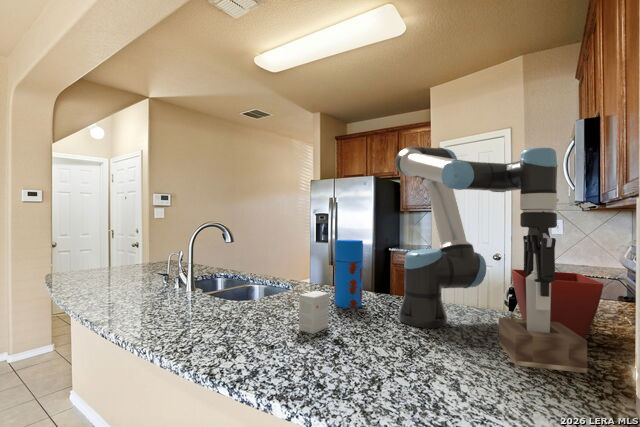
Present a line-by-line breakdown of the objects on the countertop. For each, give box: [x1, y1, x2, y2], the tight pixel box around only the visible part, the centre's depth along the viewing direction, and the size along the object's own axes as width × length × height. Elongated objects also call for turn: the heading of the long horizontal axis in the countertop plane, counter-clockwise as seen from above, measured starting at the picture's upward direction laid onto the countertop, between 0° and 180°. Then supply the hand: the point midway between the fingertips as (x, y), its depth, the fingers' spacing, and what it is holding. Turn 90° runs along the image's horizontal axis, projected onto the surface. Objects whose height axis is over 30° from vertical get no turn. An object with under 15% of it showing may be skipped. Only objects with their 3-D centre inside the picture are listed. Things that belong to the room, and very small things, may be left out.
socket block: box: [498, 316, 588, 374], centre depth 81 cm, size 14×14×7 cm
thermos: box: [334, 239, 364, 309], centre depth 129 cm, size 11×11×25 cm
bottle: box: [526, 254, 551, 333], centre depth 81 cm, size 5×5×25 cm
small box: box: [298, 290, 330, 335], centre depth 99 cm, size 8×6×10 cm
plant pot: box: [511, 268, 604, 339], centre depth 101 cm, size 19×19×17 cm
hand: (538, 306), depth 81 cm, fingers closed on bottle, 5 cm apart
